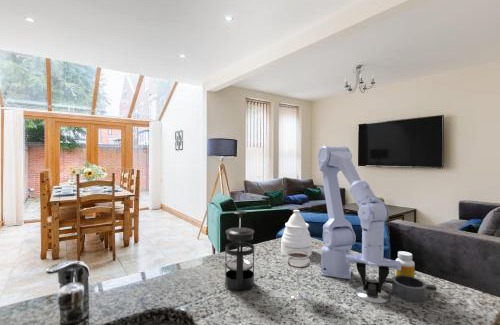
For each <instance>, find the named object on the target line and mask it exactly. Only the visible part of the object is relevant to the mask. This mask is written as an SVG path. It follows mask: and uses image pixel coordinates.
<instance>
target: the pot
mask: <svg viewBox="0 0 500 325" xmlns="http://www.w3.org/2000/svg"><path fill="white" fill-rule="evenodd" d="M383 284H390V285H391V293H392V295H393V296H394V297H396V298H397V299H398V300H399V299H400V300H401V301H404V302H407V303H411V304H412V303H413V304H423V303H425V302H426V301H428V299H427V298H428V290H429V291H434V292H437V286H436V285H435V284H427V283H426V282H425V281H423V280H422V279H420V278H418V277H415V276H414V277H411V276H405V275H395V274H394V276H392V277H391V278H388V277H387V278H386V279H385V281H384V283H383Z"/></svg>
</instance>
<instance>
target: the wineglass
mask: <svg viewBox="0 0 500 325" xmlns="http://www.w3.org/2000/svg"><path fill="white" fill-rule="evenodd" d="M287 255H288V256H287ZM287 255H286V263H287V264H286V265H287V267H288V268H289V269H290V270H291V271H292V272H294V273H295V274H296V290H292V291H290V292H289V297H290V298H292V299H295V300H304V299H306V298H307V293H305V292H303V290H302V291H301V290H299V288H300V287H299V286H300V274H301V273H303V272H305V271H306V270H308V269H309V267H310V265H311V259H310V256H311V255H310V254H309V253H308V252H306V251H302V250H291V251H288V252H287Z"/></svg>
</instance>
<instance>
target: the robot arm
mask: <svg viewBox="0 0 500 325" xmlns="http://www.w3.org/2000/svg"><path fill="white" fill-rule="evenodd" d="M352 158H353V153H352V152H351V150H350V147H348V146H345V145H343V146H332V145H329V146H327V145H322V146H321V147H320V149H319V151H318V153H317V160H318V166H319V171H320V172H321V178H322V184H323V191H324V197H325V204H326V211H327V217H328V220H327V221H326V222H325V223H324V224H323V226H322V241H323V244H324V245H322V246H321V254H320V258H321V260H320V275H321V276H326V277H334V278H338V279H339V278H340V279H345V280H346V279H347V280H351V279H352V278H351V276H352V269H351V264H356V270H357V273H358V274H359V277H360V279H361V282H362V286H363V290H365V291H366V280H367V279H366V278H367V277H366V276H367V273H366V272H367V268H366V267H367V266H371V267H378V280H377V282H378V293H381V290H383V285H384V284H385V283H384V281H385V279H386V278H388V276H389V275H390V269H394V270H395V269H397V270H401V262H400V261H395V260H396V259H395V260H394V259H389V258H385V257H384V250H385V248H384V247H385V246H384V244H385V240H384V238H385V237H384V236H385V222H387V220H388V219H389V217H390V210H389V207H388V206H387V203H385V202H384V201H382V200H380V199H379V198H377V197H376V195H375V193H374V192H373V190H372V189H371V187H370V184H369V183H368V182H367V181H365V180H362V179H361V178H360V176H359V173H358V171H357V169H356V167H355V164H354V163H353V160H352ZM340 171H341V173H342V174H343V176H344V177H345V179H346V181H348V183H349V184H350V186H349V192H350V194H351V195H352V197H353V199H354V201H355V204H356V205H357V207H358V210H357V215H358V219H359V221H360V227H361V230H362V232H361V234H362V237H361V254H351V250H352V248H353V246H354V245H355V243H356V233H355V231H354V229H353V226H352V223H351V222H350V221H349V220H348V219H346V218H345V214H344V213H345V212H344V208H343V203H342V202H343V201H342V197H341V190H340V184H339V178H338V174H339V172H340Z"/></svg>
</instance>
